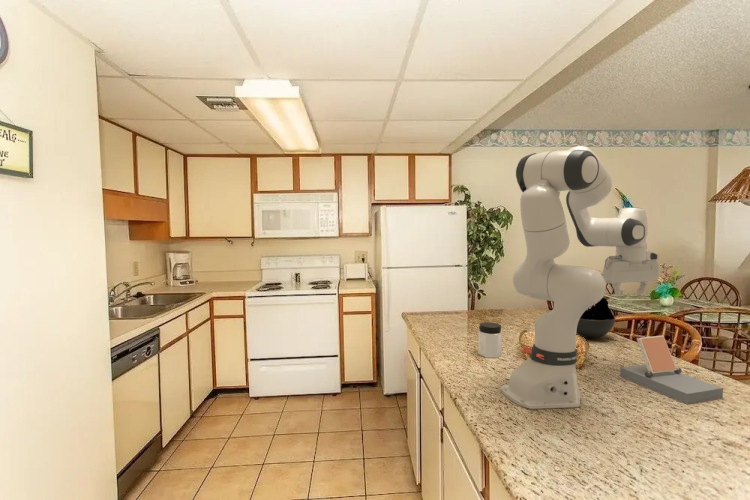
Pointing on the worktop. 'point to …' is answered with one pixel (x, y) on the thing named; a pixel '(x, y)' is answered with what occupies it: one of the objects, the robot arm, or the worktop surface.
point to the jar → (490, 340)
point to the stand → (673, 384)
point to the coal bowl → (596, 320)
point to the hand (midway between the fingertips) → (629, 294)
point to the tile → (656, 354)
